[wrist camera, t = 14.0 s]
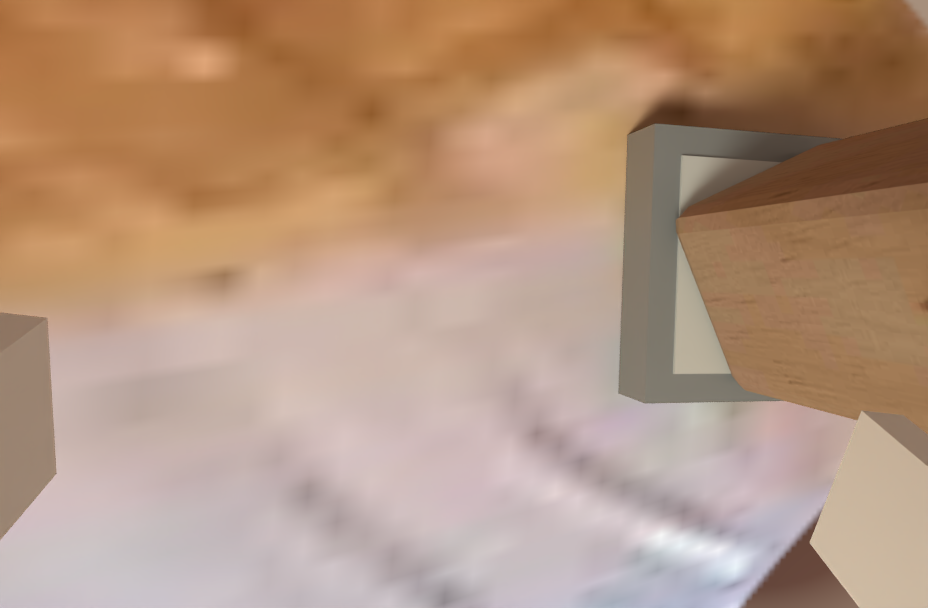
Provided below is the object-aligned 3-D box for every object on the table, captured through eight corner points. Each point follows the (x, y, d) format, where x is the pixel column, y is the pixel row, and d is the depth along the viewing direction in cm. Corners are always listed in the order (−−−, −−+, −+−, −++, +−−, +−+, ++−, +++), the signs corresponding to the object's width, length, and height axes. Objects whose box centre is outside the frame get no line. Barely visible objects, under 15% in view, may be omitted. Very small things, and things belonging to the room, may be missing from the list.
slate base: (627, 134, 38) (656, 122, 35) (848, 151, 41) (892, 142, 38) (618, 393, 38) (646, 403, 35) (837, 390, 42) (879, 399, 38)
